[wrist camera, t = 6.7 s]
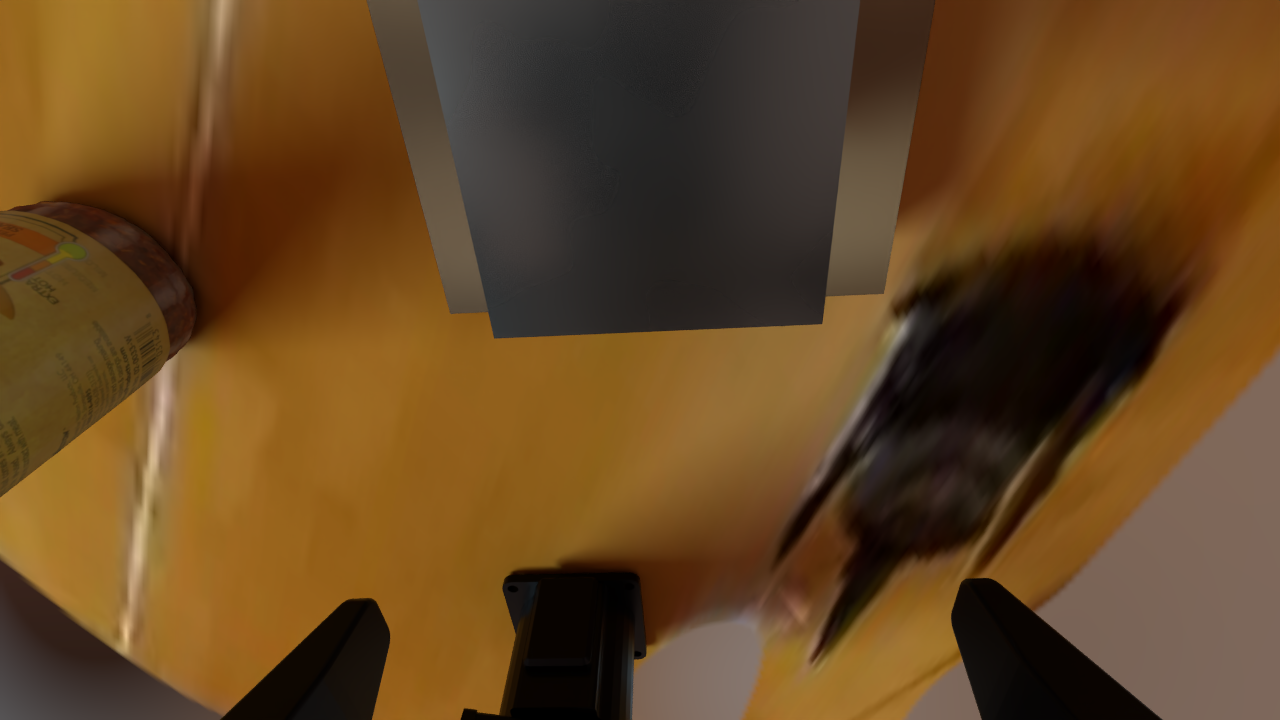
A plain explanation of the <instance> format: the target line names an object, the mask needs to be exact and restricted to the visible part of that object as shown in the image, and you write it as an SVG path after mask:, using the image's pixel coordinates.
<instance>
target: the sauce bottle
mask: <svg viewBox="0 0 1280 720" xmlns="http://www.w3.org/2000/svg"><path fill="white" fill-rule="evenodd" d="M196 307H197V306H196V304H195V300H194V293H193V289H192V287H191V286H190V284H189V283H188V281H187V280H186V278H185V276H184V275H183V273H182V270H181V269H180V268H179V267H178V266H177V265H176V263H175V262H174V261H173V260H172V259H171V258H170V257H169V255H168V254H167V252H166V251H165V250H164V249H163V248H162V247H161V246H160V245H159V244H158V243H157V242H156V241H155V240H154V239H153V238H152V237H151V236H150V235H148V234H147V233H146V232H145V231H143V230H142V229H140V228H139V227H137V226H136V225H134V224H131V223H129V222H127V221H126V220H125V219H124V218H120V217H118V216H116V215H114V214H112V213H109V212H107V211H105V210H102V209H98V208H95V207H91V206H86V205H81V204H76V203H69V202H52V201H42V202H39V203H37V204H34V205H27V206H17V207H14V208H12V209H10V210H8V211H0V497H1V496H2V495H4V494H5V493H6V492H8V491H9V490H10V489H11V488H13V487H14V486H15V485H17V484H18V483H19V482H20V481H22V480H23V479H24V478H26V477H27V476H28V475H29V474H31V473H32V472H33V471H34V470H36V469H37V468H38V467H40V466H41V465H42V464H43V463H45V462H46V461H47V460H49V459H50V458H51V457H53V456H54V455H55V454H56V453H58V452H59V451H60V450H61V449H63V448H64V447H65V446H66V445H68V444H69V443H70V442H71V441H73V440H74V439H75V438H77V437H78V436H79V435H80V434H82V433H83V432H84V431H85V430H87V429H88V428H89V427H91V426H92V425H93V424H94V423H96V422H97V421H98V420H100V419H101V418H102V417H103V416H105V415H106V414H107V413H108V412H110V411H111V410H112V409H113V408H115V407H116V406H117V405H119V404H120V403H121V402H122V401H124V400H125V399H126V398H127V397H129V396H130V395H131V394H132V393H134V392H135V391H136V390H137V389H139V388H140V387H141V386H142V385H143V384H145V383H146V382H147V381H148V380H150V379H151V378H152V377H153V376H154V375H155V374H157V373H158V372H159V371H160V370H161V368H162V367H163V365H164V364H165V362H166V361H168V360H169V359H171V358H172V357H173V356H175V355H176V354H177V352H178V351H179V350H180V349H181V348H183V347H184V346H185V344H186V343H187V341H188V340H189V339H190V338H191V332H192V330H193V326H194V323H195V322H196V316H197V315H196Z"/></svg>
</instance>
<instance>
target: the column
mask: <svg viewBox="0 0 1280 720" xmlns="http://www.w3.org/2000/svg"><path fill="white" fill-rule="evenodd" d="M417 1H418V5H419V10H420V14H421V19H422V23H423V27H424V32H425V36H426V41H427V45H428V49H429V54H430V58H431V63H432V67H433V71H434V76H435V80H436V84H437V89H438V93H439V98H440V102H441V106H442V111H443V115H444V120H445V124H446V128H447V133H448V137H449V141H450V146H451V150H452V155H453V159H454V163H455V168H456V172H457V177H458V181H459V185H460V190H461V194H462V199H463V203H464V207H465V212H466V216H467V220H468V225H469V229H470V234H471V238H472V242H473V247H474V251H475V256H476V260H477V264H478V269H479V273H480V278H481V282H482V286H483V291H484V295H485V299H486V304H487V308H488V313H489V317H490V321H491V326H492V330H493V335H494V338H514V337H537V336H560V335H583V334H606V333H629V332H652V331H675V330H698V329H720V328H743V327H766V326H789V325H812V324H822V322H823V313H824V305H825V296H826V288H827V279H828V271H829V262H830V254H831V245H832V237H833V228H834V219H835V211H836V202H837V194H838V185H839V177H840V168H841V160H842V151H843V143H844V134H845V126H846V117H847V109H848V100H849V92H850V83H851V75H852V66H853V58H854V49H855V40H856V32H857V23H858V15H859V6H860V0H417Z"/></svg>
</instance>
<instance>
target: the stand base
mask: <svg viewBox="0 0 1280 720" xmlns="http://www.w3.org/2000/svg"><path fill="white" fill-rule="evenodd" d="M367 3H368V7H369V11H370V15H371V18H372V22H373V26H374V30H375V33H376V37H377V41H378V45H379V48H380V52H381V56H382V59H383V63H384V67H385V71H386V74H387V78H388V82H389V86H390V89H391V93H392V97H393V101H394V104H395V108H396V112H397V116H398V119H399V123H400V127H401V131H402V134H403V138H404V142H405V145H406V149H407V153H408V157H409V160H410V164H411V168H412V172H413V175H414V179H415V183H416V187H417V190H418V194H419V198H420V202H421V205H422V209H423V213H424V217H425V220H426V224H427V228H428V232H429V235H430V239H431V243H432V246H433V250H434V254H435V258H436V261H437V265H438V269H439V273H440V276H441V280H442V284H443V288H444V291H445V295H446V299H447V303H448V306H449V310H450V314H455V313H476V312H488V308H487V304H486V299H485V295H484V291H483V286H482V282H481V278H480V273H479V269H478V264H477V260H476V256H475V251H474V247H473V242H472V238H471V234H470V229H469V225H468V220H467V216H466V212H465V207H464V203H463V199H462V194H461V190H460V185H459V181H458V177H457V172H456V168H455V163H454V159H453V155H452V150H451V146H450V141H449V137H448V133H447V128H446V124H445V120H444V115H443V111H442V106H441V102H440V98H439V93H438V89H437V84H436V80H435V76H434V71H433V67H432V63H431V58H430V54H429V49H428V45H427V41H426V36H425V32H424V27H423V23H422V19H421V14H420V10H419V5H418V1H417V0H367ZM934 5H935V0H860V6H859V15H858V23H857V32H856V40H855V49H854V58H853V66H852V75H851V83H850V92H849V100H848V109H847V117H846V126H845V134H844V143H843V151H842V160H841V168H840V177H839V185H838V194H837V202H836V211H835V219H834V228H833V237H832V245H831V254H830V262H829V271H828V279H827V288H826V296H845V295H867V294H884V290H885V284H886V278H887V273H888V267H889V261H890V255H891V250H892V244H893V238H894V233H895V227H896V221H897V216H898V210H899V204H900V199H901V193H902V187H903V182H904V176H905V170H906V165H907V159H908V153H909V147H910V142H911V136H912V130H913V125H914V119H915V113H916V108H917V102H918V96H919V91H920V85H921V79H922V74H923V68H924V62H925V57H926V51H927V45H928V39H929V34H930V28H931V22H932V17H933V11H934Z"/></svg>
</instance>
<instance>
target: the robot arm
mask: <svg viewBox="0 0 1280 720" xmlns="http://www.w3.org/2000/svg"><path fill="white" fill-rule="evenodd" d="M503 593H504V596H505V599H506V603H507V606H508V609H509V613H510V616H511V619H512V623H513V626H514V629H515V633H516V638H515V642H514V647H513V652H512V656H511V661H510V666H509V671H508V675H507V680H506V685H505V689H504V694H503V699H502V704H501V708H500V713H499V715H495V714H486V713H478V712H477V710H475V709H467V708H464V710H463V713H462V717H461V720H632V703H633V701H632V700H633V671H634V659H642V658H644V657H645V656H646V647H647V646H646V636H645V626H644V616H643V606H642V596H641V586H640V578H639V576H638V575H636V574H634V573H585V574H540V575H510V576H507V577H506V578H505V579H504V583H503ZM951 621H952V627H953V631H954V634H955V637H956V640H957V644H958V647H959V650H960V653H961V656H962V659H963V662H964V665H965V668H966V672H967V675H968V678H969V681H970V684H971V687H972V691H973V694H974V697H975V700H976V703H977V706H978V709H979V712H980V716H981V719H982V720H1162V719H1161V718H1160V717H1159V716H1157V715H1156V714H1155V713H1154V712H1153V711H1151V710H1150V709H1149V708H1148V707H1147V706H1146V705H1144V704H1143V703H1142V702H1141V701H1139V700H1138V699H1137V698H1136V697H1135V696H1134V695H1132V694H1131V693H1130V692H1129V691H1128V690H1126V689H1125V688H1124V687H1123V686H1121V685H1120V684H1119V683H1118V682H1117V681H1116V680H1114V679H1113V678H1112V677H1111V676H1110V675H1108V674H1107V673H1106V672H1105V671H1104V670H1102V669H1101V668H1100V667H1099V666H1098V665H1096V664H1095V663H1094V662H1093V661H1092V660H1090V659H1089V658H1088V657H1087V656H1085V655H1084V654H1083V653H1082V652H1081V651H1079V650H1078V649H1077V648H1076V647H1075V646H1074V645H1072V644H1071V643H1070V642H1069V641H1068V640H1067V639H1065V638H1064V637H1063V636H1062V635H1060V634H1059V633H1058V632H1057V631H1056V630H1055V629H1053V628H1052V627H1051V626H1050V625H1049V624H1047V623H1046V622H1045V621H1044V620H1042V619H1041V618H1040V617H1039V616H1038V615H1037V614H1035V613H1034V612H1033V611H1032V610H1031V609H1029V608H1028V607H1027V606H1026V605H1025V604H1023V603H1022V602H1021V601H1020V600H1019V599H1017V598H1016V597H1015V596H1014V595H1013V594H1011V593H1010V592H1009V591H1008V590H1007V589H1005V588H1004V587H1003V586H1002V585H1001V584H999V583H998V582H997V581H995V580H993V579H989V578H974V579H965V580H964V581H962V582H961V584H960V587H959V590H958V593H957V597H956V600H955V603H954V606H953V609H952V614H951ZM389 644H390V631H389V628H388V626H387V623H386V621H385V619H384V617H383V615H382V613H381V611H380V608H379V606H378V604H377V602H376V601H375V600H373V599H372V598H359V599H349V600H346V601H345V602H343V603H342V604H341V605H340V606H339V607H337V608H336V609H335V610H334V611H333V612H332V613H331V614H330V615H329V616H328V617H327V618H326V619H325V620H324V621H323V622H322V623H321V624H320V625H319V626H318V627H317V628H316V629H314V630H313V631H312V632H311V633H310V634H309V635H308V636H307V637H306V638H305V639H304V640H303V641H302V642H301V643H300V644H299V645H298V646H297V647H296V648H295V649H294V650H293V651H291V652H290V653H289V654H288V655H287V656H286V657H285V658H284V659H283V660H282V661H281V662H280V663H279V664H278V665H277V666H276V667H275V668H274V669H273V670H272V671H271V672H269V673H268V674H267V675H266V676H265V677H264V678H263V679H262V680H261V681H260V682H259V683H258V684H257V685H256V686H255V687H254V688H253V689H252V690H251V691H250V692H249V693H248V694H246V695H245V696H244V697H243V698H242V699H241V700H240V701H239V702H238V703H237V704H236V705H235V706H234V707H233V708H232V709H231V710H230V711H229V712H228V713H227V714H226V715H225V716H223V717H222V718H221V719H220V720H372V716H373V712H374V708H375V704H376V700H377V695H378V691H379V687H380V683H381V678H382V674H383V670H384V666H385V662H386V657H387V653H388V649H389Z"/></svg>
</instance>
